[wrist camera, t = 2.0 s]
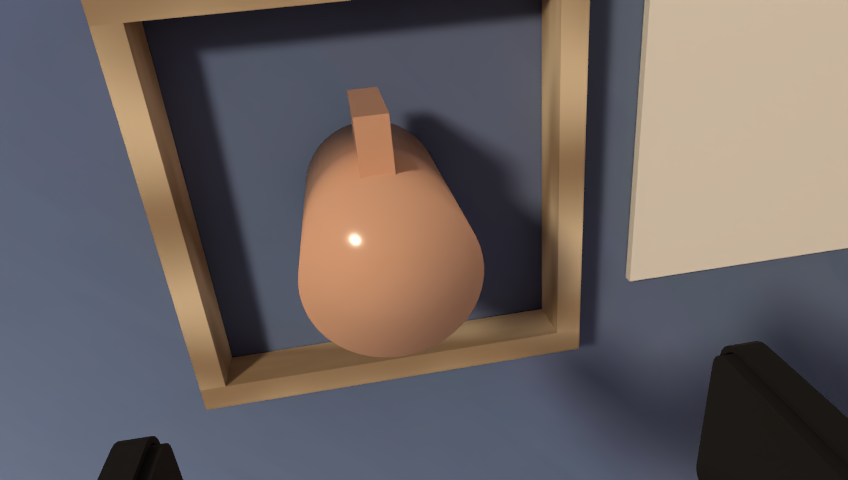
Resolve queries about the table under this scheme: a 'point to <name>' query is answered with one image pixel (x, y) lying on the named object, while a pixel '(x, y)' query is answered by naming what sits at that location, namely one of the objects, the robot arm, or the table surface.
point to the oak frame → (329, 363)
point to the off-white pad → (739, 134)
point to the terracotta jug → (384, 240)
